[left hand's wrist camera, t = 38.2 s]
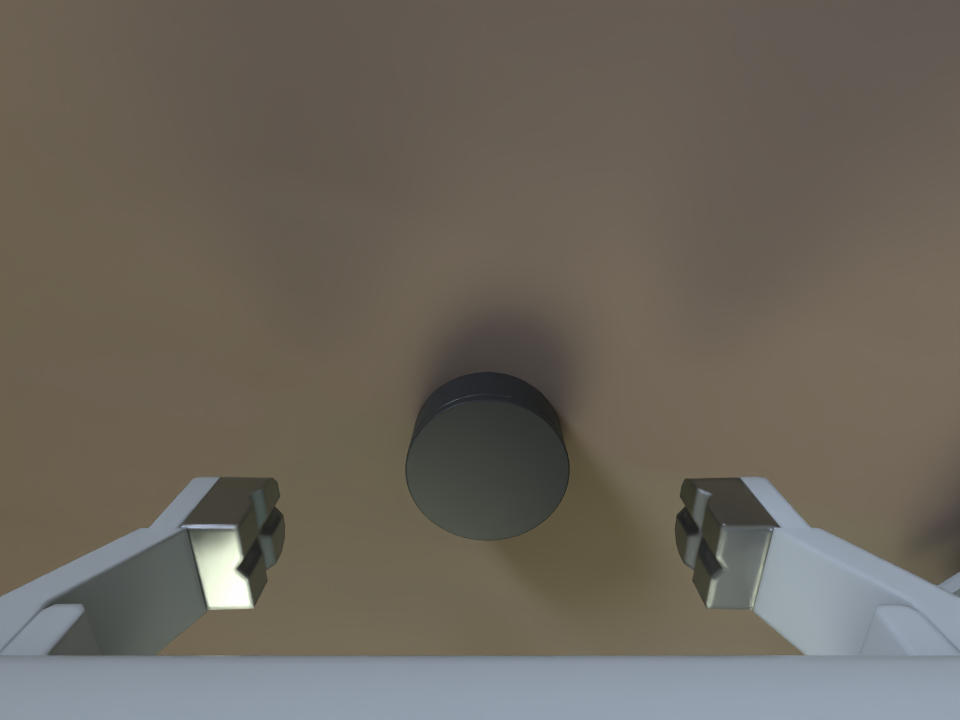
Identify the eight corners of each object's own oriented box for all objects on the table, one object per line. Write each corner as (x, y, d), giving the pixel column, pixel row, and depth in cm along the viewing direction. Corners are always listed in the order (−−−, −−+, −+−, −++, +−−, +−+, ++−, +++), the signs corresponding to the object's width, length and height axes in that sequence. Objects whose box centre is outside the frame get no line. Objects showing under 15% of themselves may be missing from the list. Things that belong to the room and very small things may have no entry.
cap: (384, 438, 14) (371, 474, 12) (486, 341, 13) (487, 366, 11) (487, 523, 15) (487, 566, 13) (590, 438, 14) (604, 474, 12)
